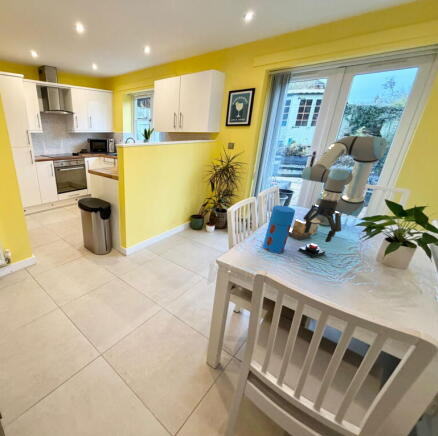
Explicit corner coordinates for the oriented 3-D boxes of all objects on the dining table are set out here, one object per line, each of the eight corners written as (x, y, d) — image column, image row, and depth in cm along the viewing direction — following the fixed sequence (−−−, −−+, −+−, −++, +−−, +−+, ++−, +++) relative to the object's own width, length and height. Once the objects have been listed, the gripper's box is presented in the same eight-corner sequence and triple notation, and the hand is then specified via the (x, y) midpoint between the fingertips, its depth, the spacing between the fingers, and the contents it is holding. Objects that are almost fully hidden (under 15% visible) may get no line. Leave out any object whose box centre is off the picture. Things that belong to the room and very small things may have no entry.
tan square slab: (292, 229, 152) (295, 219, 149) (294, 229, 152) (297, 219, 150) (301, 233, 146) (305, 223, 143) (304, 233, 146) (307, 223, 143)
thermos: (259, 246, 135) (268, 206, 125) (270, 242, 140) (280, 204, 130) (276, 254, 126) (288, 213, 117) (287, 250, 131) (299, 210, 122)
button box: (310, 248, 135) (312, 242, 133) (324, 255, 128) (326, 248, 126) (298, 250, 131) (300, 244, 130) (311, 258, 124) (314, 251, 123)
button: (312, 245, 130) (313, 242, 130) (318, 248, 127) (319, 245, 126) (307, 246, 129) (308, 243, 128) (313, 249, 126) (314, 246, 125)
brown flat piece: (295, 230, 157) (296, 226, 156) (311, 237, 147) (312, 233, 146) (282, 233, 153) (284, 228, 152) (298, 240, 143) (299, 236, 142)
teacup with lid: (315, 236, 150) (321, 220, 145) (299, 232, 155) (304, 216, 150) (317, 230, 158) (322, 215, 154) (301, 226, 163) (306, 211, 159)
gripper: (303, 193, 126) (292, 228, 134) (350, 207, 106) (334, 247, 114) (312, 192, 128) (301, 227, 137) (360, 205, 108) (344, 245, 117)
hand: (316, 236), depth 125 cm, fingers open, 11 cm apart
